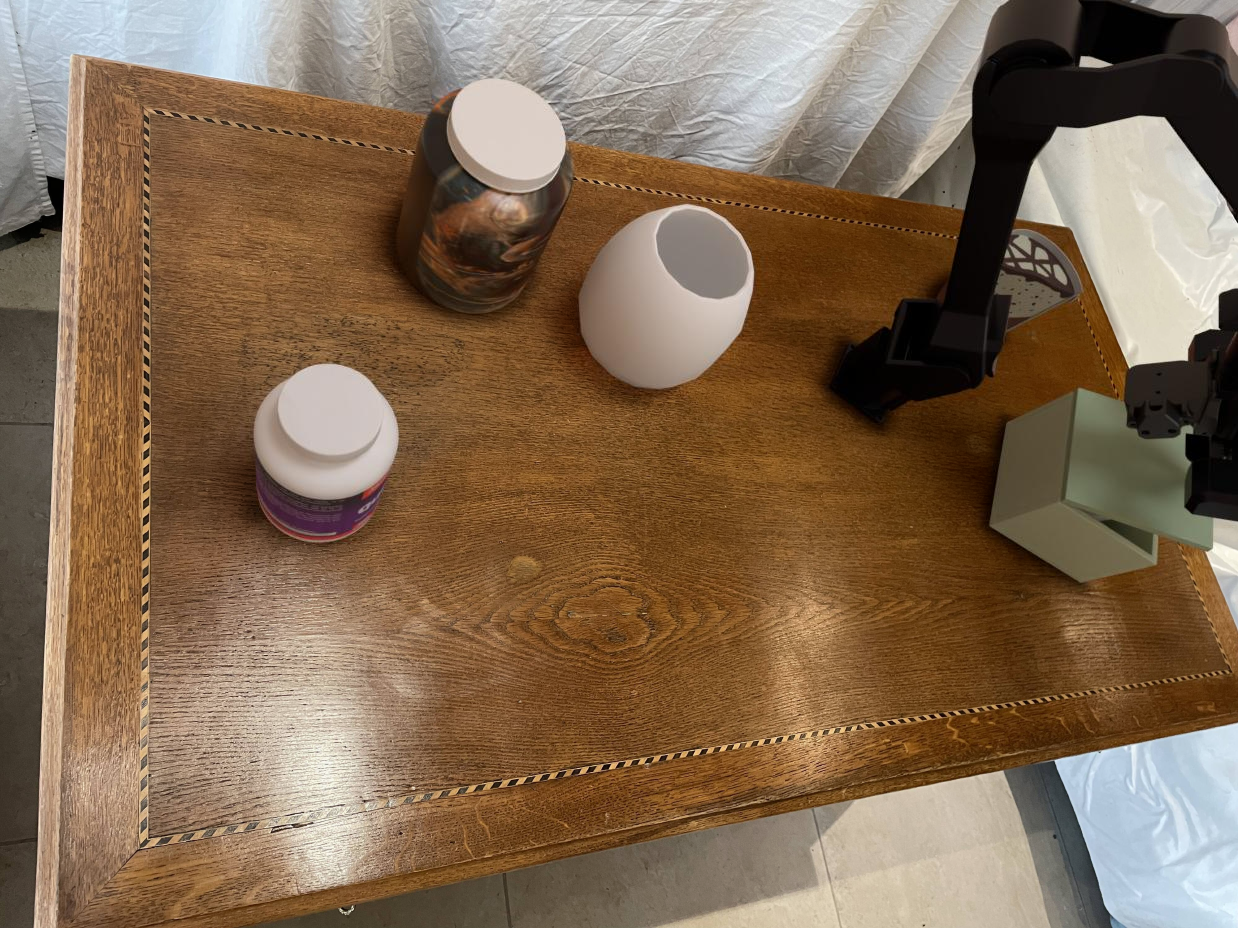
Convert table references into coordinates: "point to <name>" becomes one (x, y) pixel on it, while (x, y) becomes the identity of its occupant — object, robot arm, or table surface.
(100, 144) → the table surface
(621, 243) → the cup
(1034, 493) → the chest
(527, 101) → the jar
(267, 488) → the pill bottle
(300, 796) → the table surface
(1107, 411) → the lid
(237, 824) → the table surface
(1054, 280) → the food container
